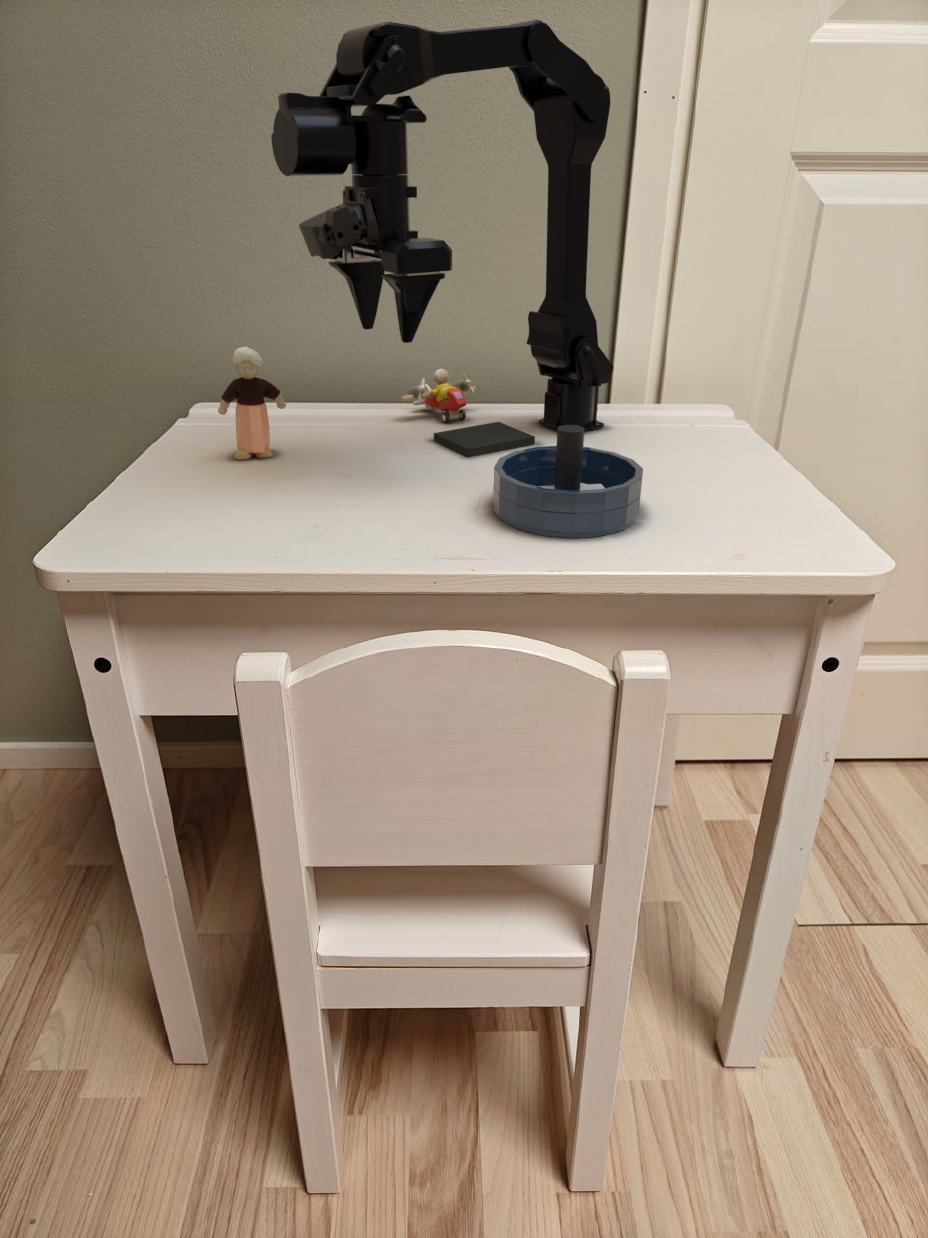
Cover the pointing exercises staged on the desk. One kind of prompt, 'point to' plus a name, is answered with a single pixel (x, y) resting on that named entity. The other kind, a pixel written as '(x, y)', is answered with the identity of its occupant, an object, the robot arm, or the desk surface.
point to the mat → (483, 438)
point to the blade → (570, 460)
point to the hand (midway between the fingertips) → (386, 335)
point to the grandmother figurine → (250, 405)
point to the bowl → (567, 493)
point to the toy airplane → (442, 395)
